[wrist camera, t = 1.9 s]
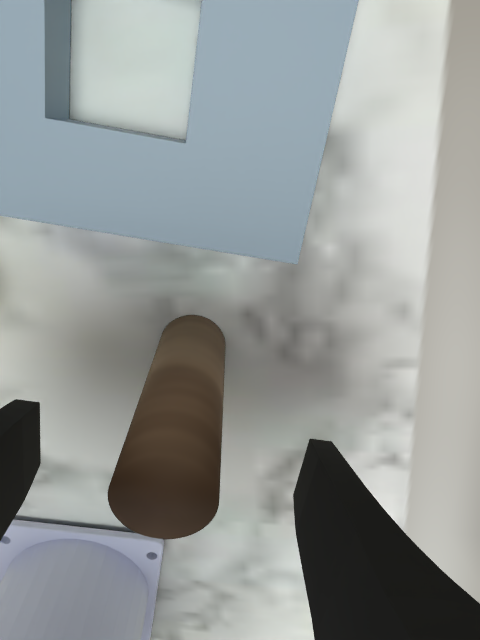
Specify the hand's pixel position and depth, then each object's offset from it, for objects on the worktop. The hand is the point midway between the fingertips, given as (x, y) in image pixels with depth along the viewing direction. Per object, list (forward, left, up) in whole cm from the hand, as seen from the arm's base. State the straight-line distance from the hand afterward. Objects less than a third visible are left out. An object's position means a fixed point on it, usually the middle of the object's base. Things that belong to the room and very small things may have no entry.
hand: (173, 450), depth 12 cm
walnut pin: (0, 0, -6) cm, 6 cm away
